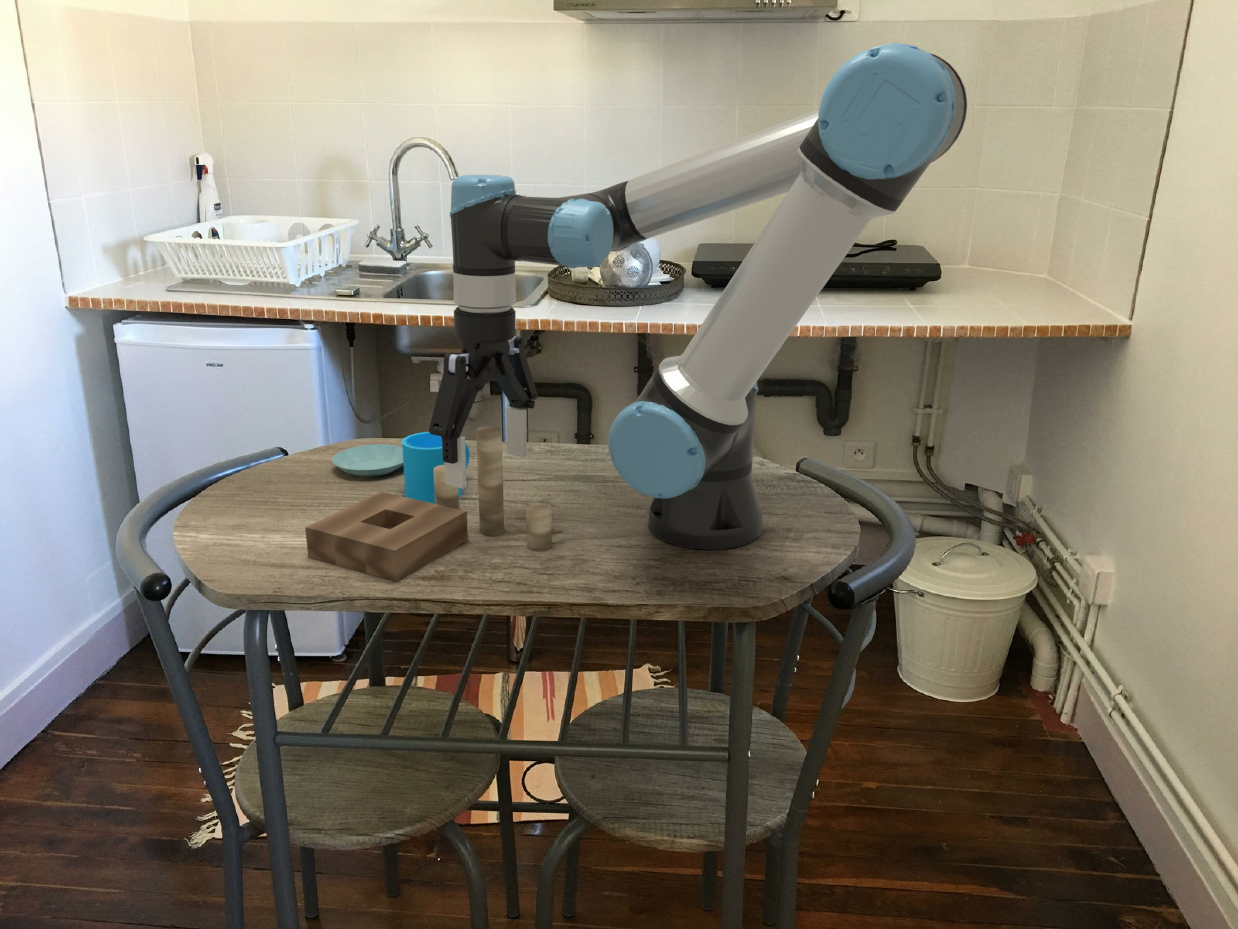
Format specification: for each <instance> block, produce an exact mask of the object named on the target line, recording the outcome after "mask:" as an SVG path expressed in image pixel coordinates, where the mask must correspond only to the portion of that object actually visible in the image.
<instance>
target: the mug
mask: <svg viewBox="0 0 1238 929" xmlns="http://www.w3.org/2000/svg"><path fill="white" fill-rule="evenodd" d="M467 444H468V443H467V442H466V441H465V450H466V470H467V469H468V466H469V463H470V458H471V453H470V448H469V446H468V445H467ZM401 447H402V449H403V465H402V466H403V478H404V480H403V481H404V495H405V496H404V497H407V498H411V499H416V500H420V501H424V502H429V503H433V504H435V488H434V468H435V467H436V466H440V465H444V461H443V454H442V451H443V450H442V438H441V436H437V435H432V434H430V433H429V431H423V432H418V433H414V434H411V435H408V436H406V437H404V438H403V439H402V440H401ZM462 495H463V488H459V498H461V497H462Z"/></svg>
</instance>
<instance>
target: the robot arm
mask: <svg viewBox="0 0 1238 929" xmlns="http://www.w3.org/2000/svg"><path fill="white" fill-rule="evenodd" d="M967 111H968V97H967V90H966V86H965V84H964V83H963V80H962V78H961V77H960V74H958V71H957V70H956V69H955V68H954V66H952V65H951V64H950V63H949V62H948V61H946V60H945V59H943V58H942V57H940V56H939V55H936V54H934V53H930V52H927V51H926V50H924V49H921V48H919V47H918V46H915V45H912V44H906V43H897V42H896V43H885V44H881V45H877V46H873V47H870V48H869V49H866V50H863V51H862V52H860V53H858V54H856V55H855V56H852V57H851V58H850V59H848V60H847V61H846V62H845V63H843V65H842V66H841V67H839V69H838V70H837V71H836V72H835V73H834V74H833V76H832V77H831V79H830V80H829V82H828V84H827V85H826V86H825V90H824V91H823V93H822V97H821V100H820V104H819V108H818V109H815V110H812V111H809V112H807V113H804V114H801V115H798V116H796V117H794V118H791V119H788V120H785V121H783V122H780V123H778V124H775V125H772V126H770V127H767V128H764V129H762V130H759V131H756V132H754V133H750V134H749V135H746V136H743V137H740V138H738V139H735V140H732V141H730V142H727V143H725V144H722V145H719V146H716V147H714V148H710V149H708V150H706V151H703V152H700V153H698V154H695V155H692V156H689V157H687V158H684V159H681V160H679V161H676V162H673V163H671V164H669V165H668V164H667V165H666V166H663V167H659V168H658V169H654V170H652V171H649V172H646V173H644V174H642V175H638V176H637V177H634V178H631V179H629V180H627V181H623V182H620V183H617V184H614V185H611V186H609V187H607V188H604V189H600V190H598V191H594V192H588V193H581V194H575V195H568V196H567V195H566V196H561V197H547V196H546V197H545V196H544V197H541V196H525V195H520V194H517V190H516V186H515V181H514V179H513V178H511V177H510V176H507V175H500V174H499V175H497V174H466V175H465V174H463V175H460V176H457V177H456V178H454V180H453V181H452V182H451V191H450V192H451V194H450V196H451V198H450V199H451V200H450V212H449V217H450V225H451V226H450V227H451V240H452V241H451V243H452V244H451V246H452V272H453V275H452V276H453V278H452V279H453V302H454V304H456V305H457V307H455V309H454V310H453V332H454V333H453V335H454V336H455V338H456V339H457V340H459V342H460V343H461V351H460V354H452V353H445V354H444V356H443V372H442V377H441V380H440V384H439V387H438V393H437V397H436V399H435V400H436V401H435V404H434V408H433V412H432V416H431V419H430V424H429V428H428V432H429V433H430V434H432V435H437V436H441V438H442V450H443V451H442V454H443V461H444V468H445V484H446V485H450V486H454V487H459V488H462V489H464V488H467V469H466V450H465V442H466V436H464V435H462V432H463V429H464V428H465V426H466V425H465V424H466V422H467V419H468V417H469V415H470V412H471V410H472V408H473V406H474V403H475V401H476V399H477V395H478V393H479V392H480V391H482V390H483V389H484V387H485V386H486V384H489V383H490V382H491V381H493V380H495V381H496V383H497V385H498V386H499V389H500V390H501V391H502V393H503V394H504V396H505V398H506V399H507V401H508V402H509V404H510V405H511V406H507V407H506V408H505V410H506V411H505V412H506V414H505V415H506V454H508V455H509V456H510V455H511V456H516V457H520V458H525V457H527V456H528V455H527V454H528V450H527V449H528V448H527V447H528V446H527V443H528V442H527V440H528V438H527V436H528V435H527V434H528V432H527V431H528V430H527V428H528V409H534V408H535V406H536V400H537V398H538V391H537V387H536V384H535V381H534V379H533V376H532V372H531V369H530V366H529V363H528V359H527V356H526V353H525V342H524V341H525V340H524V338H523V337H522V336H517V332H516V329H517V328H516V326H517V325H516V322H517V321H516V320H517V319H516V318H517V316H516V312H517V311H516V310H515V309H514V307H512V306H513V305H515V304H516V302H517V299H516V298H517V294H516V262H527V263H537V264H544V265H554V266H561V267H562V266H563V267H567V268H568V269H575V268H590V269H591V268H597V267H599V266H601V265H602V264H604V262H605V260H606V258H607V257H608V256H609V254H610V252H617V251H621V250H624V249H626V248H629V247H630V246H632V245H634V244H638V243H640V242H643V241H646V240H649V239H651V238H655V237H657V236H661V235H663V234H666V233H669V232H672V231H675V230H678V229H681V228H684V227H686V226H690V225H693V224H695V223H696V224H697V223H699V222H702V221H705V220H708V219H711V218H713V217H718V216H720V215H723V214H725V213H726V214H727V213H729V212H732V211H735V210H737V209H741V208H743V207H746V206H747V207H748V206H749V205H753V204H757V203H759V202H761V201H764V200H768V199H771V198H774V197H777V196H779V195H782V194H785V196H784V197H783V198H782V201H780V204H779V205H778V206H777V208H776V209H775V211H774V213H773V215H771V218H770V219H769V221H768V222H767V224H766V225H765V227H764V229H763V230H762V231H761V233H760V234H759V236H758V238H757V239H756V240H755V242H754V244H753V245H752V247H751V248H750V250H749V251H748V253H747V254H746V256H745V257H744V258H743V260H742V262H741V263H740V265H739V267H738V268H737V269H736V271H735V273H734V274H733V276H732V278H731V279H730V281H729V282H728V284H727V285H726V287H725V288H724V289H723V291H722V292H721V294H720V296H719V298H718V299H717V301H716V302H715V303H714V305H713V307H712V308H711V310H709V312H708V314H707V316H706V317H705V319H704V320H703V321H702V323H701V325H700V326H699V328H698V330H697V331H696V332H695V334H694V336H693V338H692V339H691V340H690V342H689V343H688V345H687V346H686V348H685V349H684V351H683V352H682V354H681V355H677V356H676V355H675V356H670V357H666V358H665V357H664V359H663V360H662V361H661V362H660V363H659V365H658V366H657V368H656V369H655V371H654V373H653V374H652V376H651V377H650V378H649V380H648V381H647V383H646V385H645V387H644V388H643V390H642V392H641V393H640V394H639V395H638V397H637V399H636V400H635V401H634V402H633V403H630V404H628V405H626V406H625V407H624V408H623V409H621V411H620V412H618V415H617V416H616V417H615V419H614V420H613V422H612V424H611V426H610V428H609V433H608V440H607V442H608V443H607V444H608V445H607V446H608V452H609V453H610V458H611V460H612V464H613V466H614V468H615V470H616V472H617V474H618V475H619V476H620V477H621V479H622V480H623V481H624V482H625V483H626V484H627V485H628V486H630V487H631V489H633V490H635V491H636V492H638V493H639V494H641V495H644V496H647V497H650V498H652V500H651V501H650V502H651V503H650V505H649V508H648V509H649V510H648V529H649V531H650V532H651V534H653V536H655V537H656V538H658V539H660V540H662V541H664V542H666V543H669V544H672V545H674V546H679V547H682V548H688V549H689V548H690V549H697V550H726V549H732V548H733V549H734V548H737V547H741V546H745V545H748V544H750V543H753V542H754V541H755V540H757V539H758V538H759V537H760V535H761V534H762V531H763V530H762V528H763V511H762V509H761V505H760V504H761V503H760V502H759V501H760V500H759V497H758V493H757V490H756V486H755V483H754V478H753V474H752V473H753V457H754V444H755V442H754V441H755V440H754V439H755V428H756V427H755V426H756V412H757V394H758V392H759V387H758V380H759V379H760V377H761V376H762V375H763V373H764V371H765V370H766V368H767V367H768V366H769V365H770V363H771V362H772V360H773V359H774V357H775V356H776V355H777V353H778V352H779V350H780V349H781V347H782V346H783V345H784V344H785V341H786V340H788V338H789V336H790V335H791V334H792V332H793V331H794V330H795V327H796V326H797V325H798V323H799V322H800V321H801V319H802V318H803V317H804V315H805V314H806V313H807V311H808V310H809V308H810V307H811V305H812V304H813V303H814V301H815V299H816V298H817V296H819V294H820V292H821V291H822V290H823V288H824V287H825V286H826V284H827V283H828V281H829V280H830V278H831V277H832V275H833V274H834V273H835V271H837V268H838V267H839V266H840V265H841V263H842V261H843V260H844V259H845V257H846V256H847V254H848V253H849V251H850V250H851V248H853V246H854V245H855V243H856V241H858V239H859V238H860V236H861V234H862V233H863V232H864V231H865V229H866V228H867V227H868V225H869V223H870V222H871V221H872V220H874V219H876V218H879V217H883V216H889V215H893V214H894V213H896V212H897V210H898V209H899V207H900V206H901V205H902V203H903V202H904V201H905V199H906V198H907V196H908V195H909V194H910V192H911V190H912V189H913V188H914V187H915V185H916V184H917V182H918V181H919V180H920V178H921V177H922V175H923V174H924V173H925V172H926V170H927V169H928V167H929V166H930V165H931V163H933V162H936V161H937V160H939V158H941V157H943V156H944V155H945V154H946V153H947V152H948V151H949V150H950V149H951V148H952V146H953V145H954V144H955V143H956V141H957V140H958V139H959V137H960V135H961V133H962V130H963V129H964V126H965V123H966V119H967Z"/></svg>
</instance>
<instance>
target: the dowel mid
mask: <svg viewBox="0 0 1238 929" xmlns="http://www.w3.org/2000/svg"><path fill="white" fill-rule="evenodd" d="M434 488H435V504H438V505H442V506H446V507H451V508H455V509H459V510H460V497H459V487H454V486H450V485H446V484H445V468H444V465H440V466H436V467H435V468H434Z"/></svg>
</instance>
